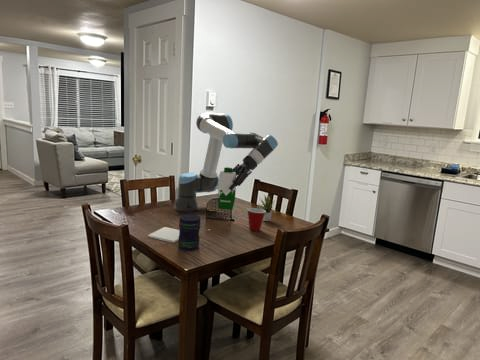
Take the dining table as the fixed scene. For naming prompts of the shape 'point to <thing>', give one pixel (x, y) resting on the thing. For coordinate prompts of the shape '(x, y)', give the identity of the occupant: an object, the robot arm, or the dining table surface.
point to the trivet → (166, 234)
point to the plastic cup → (255, 218)
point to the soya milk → (224, 181)
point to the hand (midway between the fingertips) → (221, 191)
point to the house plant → (266, 205)
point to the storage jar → (189, 232)
